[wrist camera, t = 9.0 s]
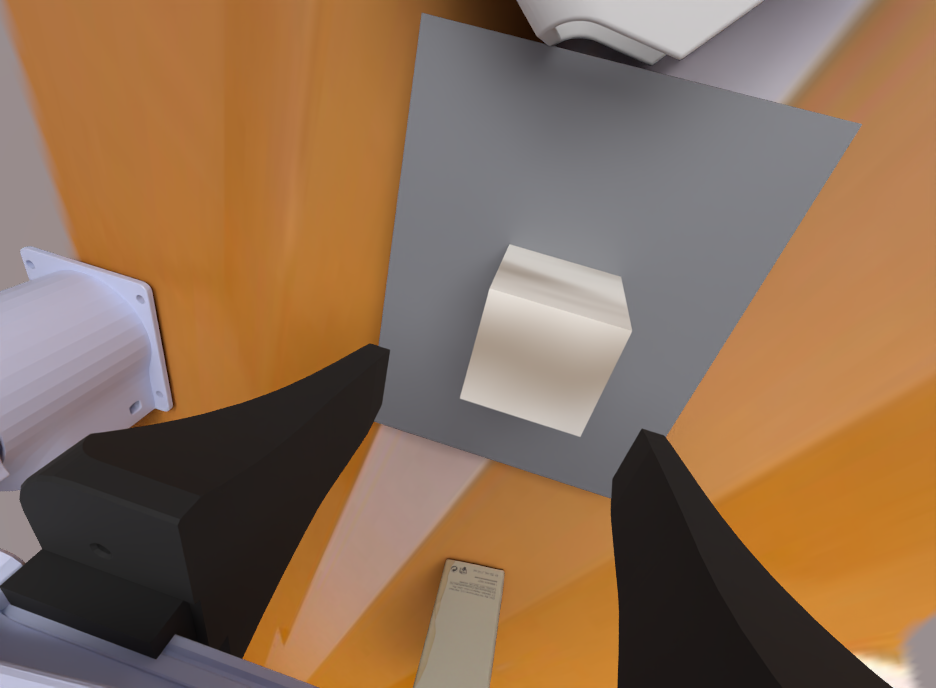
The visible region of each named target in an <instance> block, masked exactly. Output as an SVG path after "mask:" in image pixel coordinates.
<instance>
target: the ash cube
mask: <svg viewBox="0 0 936 688" xmlns="http://www.w3.org/2000/svg"><path fill="white" fill-rule="evenodd" d="M631 333H632V327H631V322H630V318H629V313H628V308H627V303H626V298H625V293H624V288H623V284H622V279H621V277H620V276H617V275H613V274H610V273H606V272H603V271H600V270H596V269H593V268H589V267H586V266H582V265H579V264H576V263H572V262H569V261H565V260H562V259H558V258H555V257H552V256H548V255H545V254H541V253H538V252H534V251H531V250H528V249H524V248H521V247H517V246H514V245H510V244H509V246H508V248H507V251H506V253H505V255H504V257H503V260H502V262H501V264H500V266H499V269H498V271H497V273H496V275H495V277H494V280H493V282H492V284H491V286H490V289H489V292H488V296H487V300H486V303H485V307H484V311H483V314H482V318H481V322H480V326H479V329H478V333H477V337H476V340H475V344H474V348H473V351H472V355H471V359H470V362H469V366H468V370H467V373H466V377H465V381H464V384H463V388H462V392H461V395H460V399H463V400H466V401H469V402H472V403H476V404H479V405H482V406H485V407H488V408H491V409H494V410H498V411H501V412H504V413H507V414H510V415H513V416H516V417H519V418H523V419H526V420H529V421H532V422H535V423H538V424H541V425H544V426H548V427H551V428H554V429H557V430H560V431H563V432H566V433H570V434H573V435H576V436H579V437H581V435H582V432H583V430H584V428H585V426H586V424H587V422H588V420H589V418H590V416H591V414H592V412H593V410H594V408H595V406H596V404H597V402H598V400H599V398H600V396H601V394H602V392H603V390H604V388H605V386H606V384H607V382H608V380H609V377H610V375H611V373H612V371H613V369H614V367H615V365H616V363H617V361H618V359H619V357H620V355H621V353H622V351H623V349H624V347H625V345H626V343H627V341H628V339H629V337H630V335H631Z"/></svg>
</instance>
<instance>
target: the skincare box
mask: <svg viewBox="0 0 936 688" xmlns="http://www.w3.org/2000/svg"><path fill="white" fill-rule="evenodd" d="M504 574H505V573H504V571H503V570H498V569H493V568H489V567H485V566H480V565H475V564H471V563H466V562H461V561H455V560H451V559H447V560H446V562H445V566H444V570H443V573H442V577H441V582H440V585H439V589H438V593H437V597H436V601H435V605H434V609H433V612H432V616H431V620H430V624H429V628H428V632H427V636H426V640H425V644H424V648H423V651H422V655H421V659H420V663H419V667H418V671H417V674H416V678H415V682H414V686H413V688H490V680H491V673H492V666H493V659H494V652H495V644H496V637H497V629H498V622H499V614H500V607H501V600H502V593H503V585H504Z"/></svg>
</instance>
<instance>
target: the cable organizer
mask: <svg viewBox="0 0 936 688" xmlns="http://www.w3.org/2000/svg"><path fill="white" fill-rule="evenodd" d="M763 1H765V0H517V2H518V4H519V6H520V7H521V9H522V11H523V13H524V15H525V16H526V18H527V20H528V22H529V24H530V25H531V27H532V29H533V31H534V32H535V34H536V36H537V37H538V38H540V39H541V40H542V41H543V42H544V43H546V44H547V45H548V46H554V45H556V44H558V43H560V42H563V41H566V40H570V39H576V38H584V39H590V40H593V41H596V42H598V43H600V44H603V45H605V46H607V47H609V48H612V49H614V50H616V51H618V52H621V53H623V54H625V55H627V56H630V57H632V58H634V59H636V60H639V61H641V62H643V63H645V64H648V65H650V66H652V65H654V64H655V63H656V62H658V61H659V60H661V59H662V58H663V57H665V56H666V55H669V56H671V57H673V58H676V59H678V60H681V59H683V58H685V57H686V56H687V55H689V54H690V53H692V52H693V51H694V50H696V49H697V48H699V47H700V46H701V45H703V44H704V43H706V42H707V41H708V40H710V39H711V38H713V37H714V36H715V35H717V34H718V33H720V32H721V31H723V30H724V29H725V28H727V27H728V26H730V25H731V24H732V23H734V22H735V21H737V20H738V19H739V18H741V17H742V16H744V15H745V14H746V13H748V12H749V11H751V10H752V9H753V8H755V7H756V6H758V5H759V4H760V3H762V2H763Z"/></svg>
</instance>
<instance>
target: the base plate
mask: <svg viewBox="0 0 936 688" xmlns="http://www.w3.org/2000/svg"><path fill="white" fill-rule="evenodd" d="M861 125H862V124H859V123H855V122H851V121H847V120H843V119H839V118H835V117H831V116H827V115H823V114H819V113H815V112H811V111H807V110H803V109H799V108H796V107H792V106H788V105H784V104H780V103H776V102H772V101H768V100H764V99H760V98H756V97H752V96H748V95H744V94H740V93H736V92H732V91H728V90H725V89H721V88H717V87H713V86H709V85H705V84H701V83H697V82H693V81H689V80H685V79H681V78H677V77H673V76H669V75H665V74H661V73H657V72H654V71H650V70H646V69H642V68H638V67H634V66H630V65H626V64H622V63H618V62H614V61H610V60H606V59H602V58H598V57H594V56H590V55H586V54H582V53H579V52H575V51H571V50H567V49H563V48H559V47H555V46H548V45H547V44H543V43H539V42H535V41H531V40H527V39H523V38H519V37H515V36H511V35H508V34H504V33H500V32H496V31H492V30H488V29H484V28H480V27H476V26H472V25H468V24H464V23H460V22H456V21H452V20H448V19H444V18H440V17H436V16H433V15H429V14H425V13H422V15H421V23H420V31H419V38H418V46H417V54H416V61H415V69H414V77H413V85H412V92H411V100H410V108H409V115H408V123H407V131H406V139H405V146H404V154H403V162H402V169H401V177H400V185H399V193H398V200H397V208H396V216H395V223H394V231H393V239H392V247H391V254H390V262H389V270H388V277H387V285H386V293H385V300H384V308H383V316H382V324H381V331H380V339H379V346H380V347H383V348H386V349H390V355H389V362H388V368H387V375H386V382H385V388H384V395H383V402H382V406H381V408H380V410H379V412H378V414H377V416H376V418H375V420H374V422H377V423H380V424H383V425H387V426H390V427H393V428H396V429H399V430H402V431H405V432H408V433H411V434H414V435H417V436H420V437H423V438H427V439H430V440H433V441H436V442H439V443H442V444H445V445H448V446H451V447H454V448H457V449H460V450H463V451H467V452H470V453H473V454H476V455H479V456H482V457H485V458H488V459H491V460H494V461H497V462H500V463H503V464H507V465H510V466H513V467H516V468H519V469H522V470H525V471H528V472H531V473H534V474H537V475H540V476H543V477H547V478H550V479H553V480H556V481H559V482H562V483H565V484H568V485H571V486H574V487H577V488H580V489H583V490H587V491H590V492H593V493H596V494H599V495H602V496H605V497H608V498H611V493H612V479H613V477H614V475H615V473H616V472H617V470H618V468H619V467H620V465H621V463H622V461H623V460H624V458H625V456H626V455H627V453H628V451H629V449H630V448H631V446H632V444H633V443H634V441H635V439H636V437H637V436H638V434H639V432H640V431H641V429H645V430H649V431H652V432H655V433H658V434H661V435H664V436H665V437H666V436H667V434H668V433H669V431H670V429H671V428H672V426H673V425H674V423H675V421H676V420H677V418H678V417H679V415H680V413H681V412H682V410H683V409H684V407H685V405H686V404H687V402H688V401H689V399H690V398H691V396H692V394H693V393H694V391H695V390H696V388H697V386H698V385H699V383H700V382H701V380H702V378H703V377H704V375H705V374H706V372H707V370H708V369H709V367H710V366H711V364H712V363H713V361H714V359H715V358H716V356H717V355H718V353H719V351H720V350H721V348H722V347H723V345H724V343H725V342H726V340H727V339H728V337H729V335H730V334H731V332H732V331H733V329H734V328H735V326H736V324H737V323H738V321H739V320H740V318H741V316H742V315H743V313H744V312H745V310H746V308H747V307H748V305H749V304H750V302H751V300H752V299H753V297H754V296H755V294H756V292H757V291H758V289H759V288H760V286H761V285H762V283H763V281H764V280H765V278H766V277H767V275H768V273H769V272H770V270H771V269H772V267H773V265H774V264H775V262H776V261H777V259H778V257H779V256H780V254H781V253H782V251H783V250H784V248H785V246H786V245H787V243H788V242H789V240H790V238H791V237H792V235H793V234H794V232H795V230H796V229H797V227H798V226H799V224H800V222H801V221H802V219H803V218H804V216H805V215H806V213H807V211H808V210H809V208H810V207H811V205H812V203H813V202H814V200H815V199H816V197H817V195H818V194H819V192H820V191H821V189H822V187H823V186H824V184H825V183H826V181H827V179H828V178H829V176H830V175H831V173H832V172H833V170H834V168H835V167H836V165H837V164H838V162H839V160H840V159H841V157H842V156H843V154H844V152H845V151H846V149H847V148H848V146H849V144H850V143H851V141H852V140H853V138H854V137H855V135H856V133H857V132H858V130H859V129H860V127H861ZM509 244H510V245H514V246H517V247H521V248H524V249H528V250H531V251H534V252H538V253H541V254H545V255H548V256H552V257H555V258H558V259H562V260H565V261H569V262H572V263H576V264H579V265H582V266H586V267H589V268H593V269H596V270H600V271H603V272H606V273H610V274H613V275H617V276H620V277H621V279H622V284H623V288H624V293H625V298H626V303H627V308H628V313H629V318H630V322H631V327H632V333H631V335H630V337H629V339H628V341H627V343H626V345H625V347H624V349H623V351H622V353H621V355H620V357H619V359H618V361H617V363H616V365H615V367H614V369H613V371H612V373H611V375H610V377H609V380H608V382H607V384H606V386H605V388H604V390H603V392H602V394H601V396H600V398H599V400H598V402H597V404H596V406H595V408H594V410H593V412H592V414H591V416H590V418H589V420H588V422H587V424H586V426H585V428H584V430H583V432H582V435H581V437H579V436H576V435H573V434H570V433H566V432H563V431H560V430H557V429H554V428H551V427H548V426H544V425H541V424H538V423H535V422H532V421H529V420H526V419H523V418H519V417H516V416H513V415H510V414H507V413H504V412H501V411H498V410H494V409H491V408H488V407H485V406H482V405H479V404H476V403H472V402H469V401H466V400H463V399H460V395H461V392H462V388H463V384H464V381H465V377H466V373H467V370H468V366H469V362H470V359H471V355H472V351H473V348H474V344H475V340H476V337H477V333H478V329H479V326H480V322H481V318H482V314H483V311H484V307H485V303H486V300H487V296H488V292H489V289H490V286H491V284H492V282H493V280H494V277H495V275H496V273H497V271H498V269H499V266H500V264H501V262H502V260H503V257H504V255H505V253H506V251H507V248H508V246H509Z"/></svg>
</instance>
